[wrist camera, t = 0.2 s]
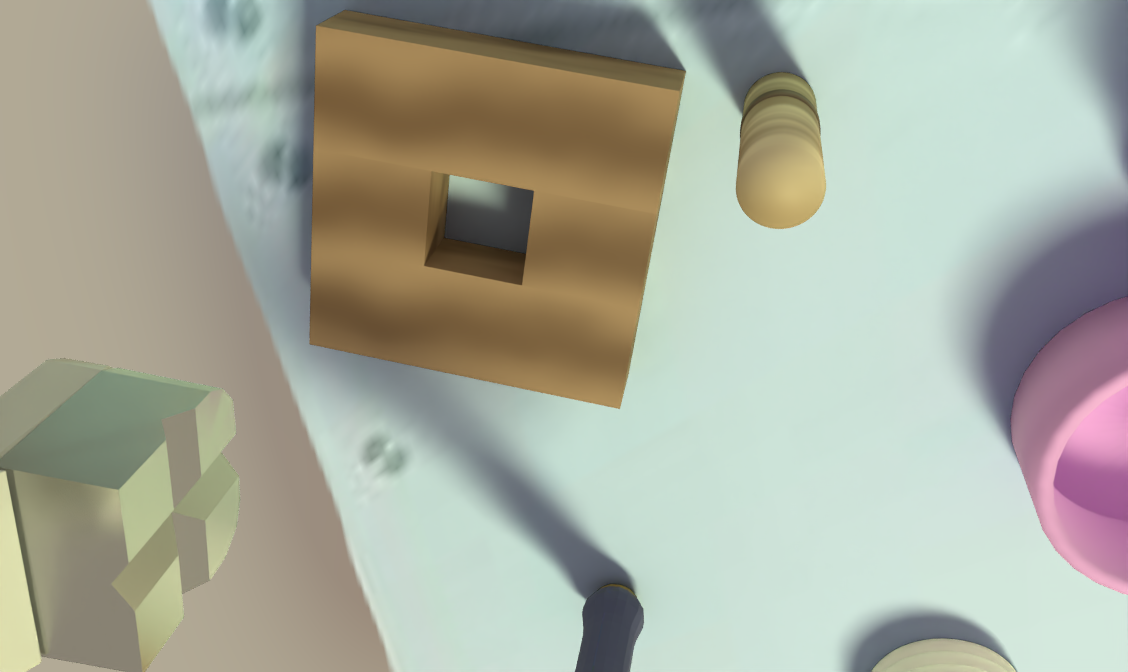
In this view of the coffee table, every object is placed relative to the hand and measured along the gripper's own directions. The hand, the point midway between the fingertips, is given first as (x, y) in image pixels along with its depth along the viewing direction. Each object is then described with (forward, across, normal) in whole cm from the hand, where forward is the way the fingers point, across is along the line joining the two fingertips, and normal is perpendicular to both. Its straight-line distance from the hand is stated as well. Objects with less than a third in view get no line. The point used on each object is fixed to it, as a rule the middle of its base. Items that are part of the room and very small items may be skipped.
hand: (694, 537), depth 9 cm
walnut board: (+47, +12, +16) cm, 51 cm away
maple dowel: (+47, -2, +9) cm, 48 cm away
